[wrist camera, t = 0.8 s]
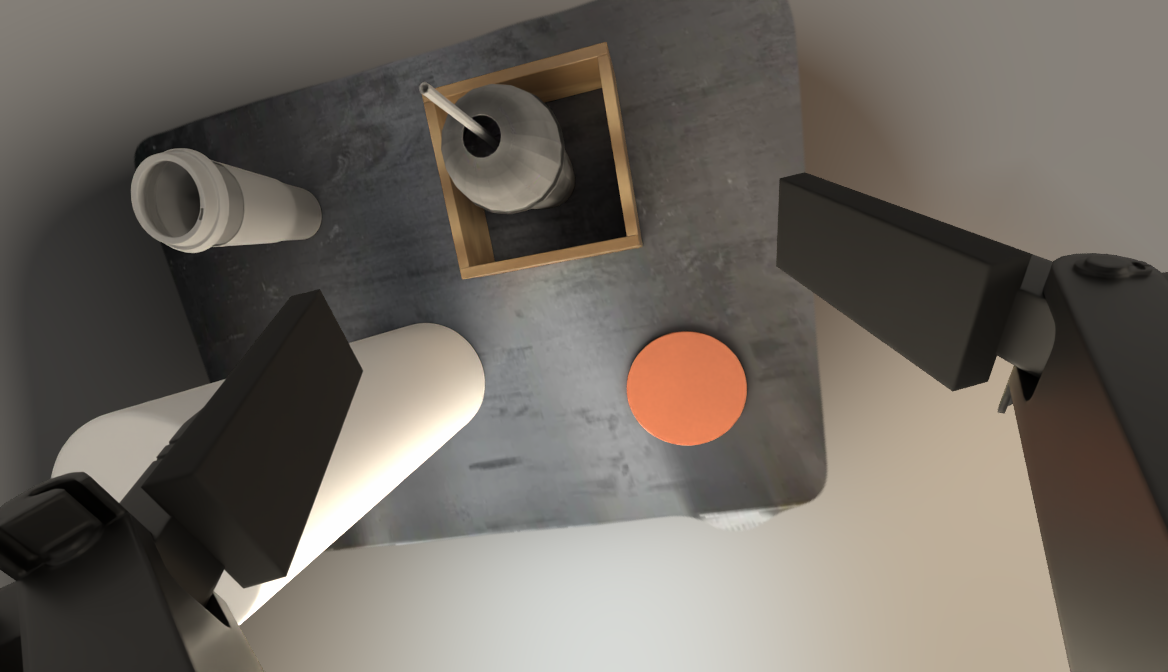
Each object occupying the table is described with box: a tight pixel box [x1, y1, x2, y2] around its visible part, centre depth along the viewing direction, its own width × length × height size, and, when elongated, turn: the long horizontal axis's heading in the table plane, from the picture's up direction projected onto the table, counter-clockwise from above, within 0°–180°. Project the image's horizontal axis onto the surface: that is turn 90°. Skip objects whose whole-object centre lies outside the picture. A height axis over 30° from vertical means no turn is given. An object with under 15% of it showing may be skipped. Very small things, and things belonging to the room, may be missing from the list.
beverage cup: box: [419, 82, 575, 214], centre depth 30 cm, size 7×7×20 cm
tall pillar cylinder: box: [51, 323, 485, 625], centre depth 32 cm, size 11×11×25 cm
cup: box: [131, 148, 322, 253], centre depth 38 cm, size 7×7×12 cm
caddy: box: [422, 42, 643, 279], centre depth 37 cm, size 14×14×6 cm
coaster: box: [627, 331, 747, 445], centre depth 41 cm, size 10×10×1 cm
